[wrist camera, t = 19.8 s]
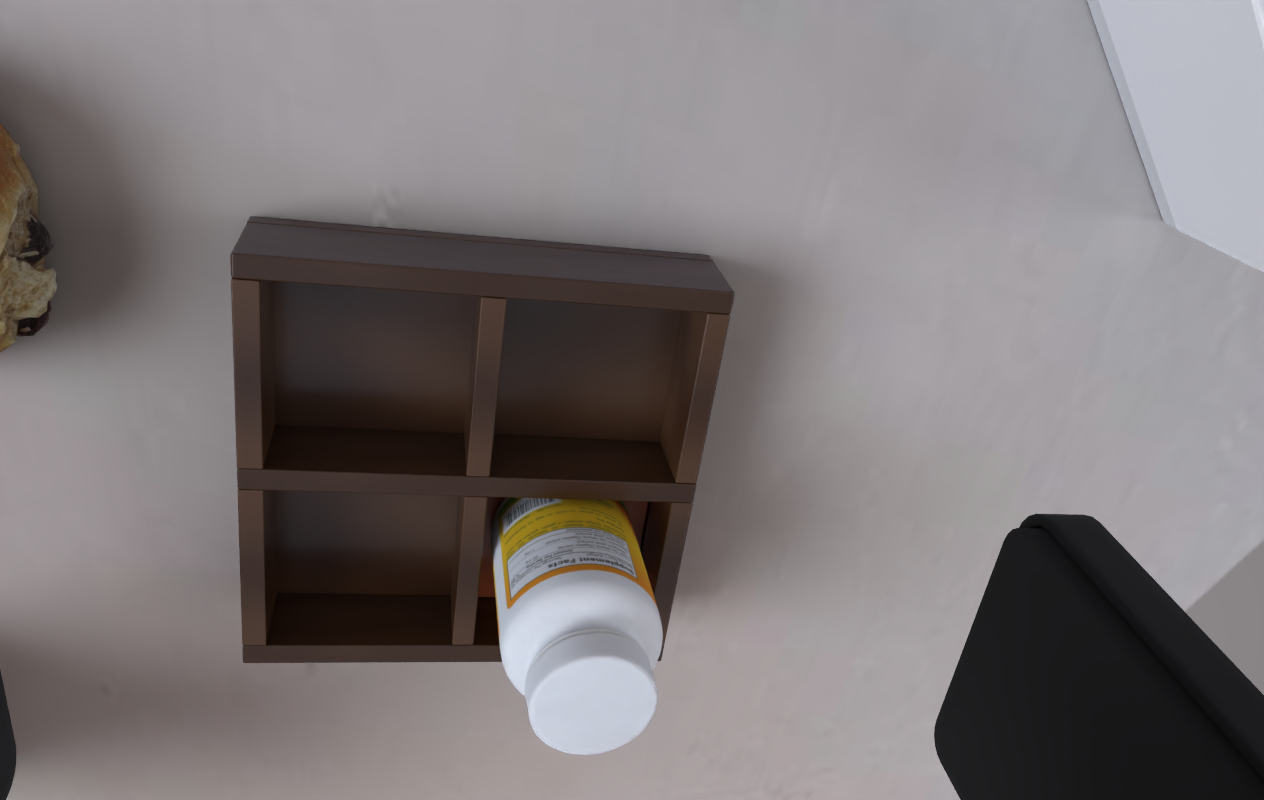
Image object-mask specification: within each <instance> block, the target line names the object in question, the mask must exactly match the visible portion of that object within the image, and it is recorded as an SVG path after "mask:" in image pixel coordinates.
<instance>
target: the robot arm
mask: <svg viewBox="0 0 1264 800" xmlns="http://www.w3.org/2000/svg"><path fill="white" fill-rule="evenodd" d="M934 738H935V746H936V751H937V755H938V757H939V759H940V762H941V764H942V766H943V767H944V769H945V771H946V773H947V775H948V777H949V779H950V781H951V782H952V784H953V786H954V788H955V790H956V792H957V794H958V796H959V797H960V799H961V800H1264V695H1263V694H1262V693H1261V692H1260V691H1259V690H1258V689H1257V688H1256V687H1255V686H1254V685H1253V684H1252V682H1251V681H1250V680H1249V679H1248V678H1247V677H1246V676H1245V675H1244V674H1243V673H1242V672H1241V671H1240V670H1239V669H1238V668H1237V667H1236V666H1235V665H1234V663H1233V662H1232V661H1231V660H1230V659H1229V658H1228V657H1227V656H1226V655H1225V654H1224V653H1223V652H1222V651H1221V650H1220V649H1219V648H1218V647H1217V646H1216V645H1215V644H1214V643H1213V642H1212V640H1211V639H1210V638H1209V637H1208V636H1207V635H1206V634H1205V633H1204V632H1203V631H1202V630H1201V629H1200V628H1199V627H1198V626H1197V624H1196V623H1194V621H1193V620H1192V619H1191V618H1190V617H1189V616H1188V615H1187V614H1186V613H1185V612H1184V611H1183V610H1182V609H1181V608H1180V607H1179V605H1178V604H1177V603H1176V602H1175V601H1174V600H1173V599H1172V598H1171V597H1170V596H1169V595H1168V594H1167V593H1166V592H1165V591H1164V590H1163V589H1162V588H1161V586H1160V585H1159V584H1158V583H1157V582H1156V581H1155V580H1154V579H1153V578H1152V577H1151V576H1150V575H1149V574H1148V573H1147V572H1146V571H1145V570H1144V569H1143V567H1142V566H1141V565H1140V564H1139V563H1138V562H1137V561H1136V560H1135V559H1134V558H1133V557H1132V556H1131V555H1130V554H1129V553H1128V552H1127V551H1126V550H1125V549H1124V547H1123V546H1122V545H1121V544H1120V543H1119V542H1118V541H1117V540H1116V539H1115V538H1114V537H1113V536H1112V535H1111V534H1110V533H1109V532H1108V531H1107V530H1106V528H1105V527H1104V526H1103V525H1102V524H1101V523H1100V522H1098V521H1097V520H1096V519H1094V518H1093V517H1091V516H1086V515H1065V514H1034V515H1031V516H1028V517H1027V518H1026V519H1025V520H1024V521H1023V522H1022V524H1021V525H1020V527H1019V528H1016V529H1013V530H1012V531H1011V532H1009V533H1008V534H1007V536H1006V538H1005V540H1004V542H1003V545H1002V548H1001V550H1000V553H999V556H998V558H997V561H996V564H995V566H994V569H993V572H992V574H991V577H990V580H989V582H988V585H987V588H986V590H985V593H984V595H983V598H982V601H981V603H980V606H979V609H978V611H977V614H976V617H975V619H974V622H973V625H972V627H971V630H970V633H969V635H968V638H967V641H966V643H965V646H964V649H963V651H962V654H961V657H960V659H959V662H958V665H957V667H956V670H955V673H954V675H953V678H952V681H951V683H950V686H949V688H948V691H947V694H946V696H945V699H944V702H943V704H942V707H941V710H940V712H939V715H938V718H937V721H936V725H935V733H934ZM15 766H16V745H15V739H14V735H13V730H12V725H11V720H10V715H9V710H8V705H7V700H6V696H5V691H4V686H3V681H2V676H1V671H0V800H6V798H7V796H8V793H9V791H10V788H11V785H12V781H13V777H14V773H15Z"/></svg>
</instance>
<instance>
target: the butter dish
mask: <svg viewBox="0 0 1264 800" xmlns="http://www.w3.org/2000/svg"><path fill="white" fill-rule="evenodd" d="M1087 2H1088V5H1089V8H1090V11H1091V14H1092V17H1093V19H1094V22H1095V25H1096V28H1097V31H1098V34H1099V37H1100V40H1101V43H1102V45H1103V48H1104V51H1105V54H1106V57H1107V60H1108V63H1109V66H1110V68H1111V71H1112V74H1113V77H1114V80H1115V83H1116V86H1117V89H1118V92H1119V94H1120V97H1121V100H1122V103H1123V106H1124V109H1125V112H1126V115H1127V117H1128V120H1129V123H1130V126H1131V129H1132V132H1133V135H1134V138H1135V141H1136V143H1137V146H1138V149H1139V152H1140V155H1141V158H1142V161H1143V164H1144V166H1145V169H1146V172H1147V175H1148V178H1149V181H1150V184H1151V187H1152V190H1153V192H1154V195H1155V198H1156V201H1157V204H1158V207H1159V210H1160V213H1161V215H1162V218H1163V221H1164V223H1166V224H1169V225H1171V226H1173V227H1175V228H1176V229H1177V230H1178V231H1180V232H1182V233H1184V234H1186V235H1188V236H1190V237H1192V238H1195V239H1197V240H1199V241H1201V242H1203V243H1205V244H1207V245H1209V246H1211V247H1213V248H1215V249H1217V250H1219V251H1221V252H1223V253H1225V254H1227V255H1229V256H1231V257H1233V258H1235V259H1237V260H1239V261H1241V262H1243V263H1245V264H1247V265H1249V266H1251V267H1253V268H1255V269H1258V270H1260V271H1262V272H1264V0H1087Z"/></svg>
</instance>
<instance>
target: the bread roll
mask: <svg viewBox="0 0 1264 800" xmlns="http://www.w3.org/2000/svg"><path fill="white" fill-rule="evenodd" d="M52 246H53V243H52V240H51V238H50V236H49V234H48V232H47V230H46V228H45V227H44V226H43V225H42V224H41V223H40V222H39V199H38V187H37V185H36V183H35V181H34V179H33V176H32V174H31V172H30V171H29V169H28V167H27V166H26V164H25V162H24V160H23V159H22V157H21V155H20V146H19V144H18V143H16V142H14V141H13V140H12V138H11V136H10V135H9V133H8V132H7V131H6V129H5V128H4V127H3V126H2V125H1V123H0V352H2V351H3V350H5V349H6V348H8V347H9V346H11V344H13V343H14V342H15V341H16V337H17V336H32V335H34V334H35V333H37V332H38V331H39V330H40V329H41V328H42V327H43V326H44V325H45V324H46V323H47V322H48V319H49V312H50V310H51V303H50V300H51V299H52V297H53V295H54V293H55V292H56V289H57V284H56V282H55V279H56V272H55V270H54V268H53V267H52V268H50V269H48V270H46V269H45V268H44V266H45V256H46V255H47V254H48V253H49V251H50V249H51V248H52Z"/></svg>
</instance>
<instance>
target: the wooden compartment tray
mask: <svg viewBox="0 0 1264 800" xmlns="http://www.w3.org/2000/svg"><path fill="white" fill-rule="evenodd" d="M231 276H232V279H231V294H232V325H233V357H234V389H235V421H236V453H237V482H238V516H239V548H240V580H241V612H242V644H243V662H244V663H329V662H502V658H501V652H500V645H499V635H498V622H497V610H496V598H495V586H494V575H493V564H492V553H491V526H492V522H493V518H494V516H495V513H496V511H497V509H498V507H499V506H500V504H501V502H502V501H503V500H504V499H505V497H514V498H547V499H581V500H614V501H623V502H624V504H625V506H626V508H627V511H628V513H629V516H630V519H631V522H632V525H633V528H634V532H635V535H636V538H637V541H638V545H639V548H640V552H641V555H642V558H643V562H644V565H645V568H646V571H647V575H648V578H649V581H650V585H651V588H652V591H653V594H654V598H655V601H656V604H657V608H658V611H659V615H660V619H661V624H662V631H663V641H662V647H661V652H660V656H659V658H658V661H661V658H662V653H663V648H664V643H665V638H666V633H667V628H668V623H669V618H670V613H671V608H672V603H673V598H674V593H675V588H676V583H677V578H678V573H679V569H680V564H681V559H682V554H683V549H684V544H685V539H686V534H687V529H688V524H689V519H690V514H691V509H692V502H693V499H694V494H695V489H696V482H697V478H698V473H699V468H700V463H701V458H702V453H703V448H704V443H705V438H706V433H707V428H708V423H709V419H710V414H711V409H712V404H713V399H714V394H715V389H716V384H717V379H718V374H719V369H720V364H721V359H722V354H723V349H724V344H725V339H726V334H727V329H728V324H729V319H730V315H729V314H730V313H731V309H732V304H733V299H734V291H733V290H732V288H731V287H730V285H729V284H728V283H727V281H726V280H725V278H724V277H723V275H722V274H721V273H720V271H719V270H718V268H717V267H716V265H715V264H714V263H713V261H712V259H711V258H710V256H708V255H697V254H685V253H674V252H662V251H650V250H638V249H627V248H615V247H603V246H591V245H579V244H568V243H556V242H544V241H532V240H521V239H509V238H497V237H485V236H474V235H462V234H450V233H438V232H426V231H415V230H403V229H391V228H379V227H368V226H356V225H344V224H332V223H320V222H309V221H297V220H285V219H273V218H262V217H250V218H249V220H248V222H247V224H246V226H245V228H244V230H243V232H242V234H241V236H240V238H239V240H238V242H237V244H236V245H235V247H234V249H233V251H232V253H231Z"/></svg>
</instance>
